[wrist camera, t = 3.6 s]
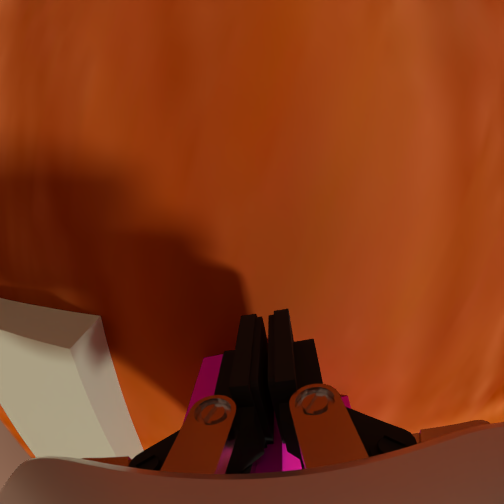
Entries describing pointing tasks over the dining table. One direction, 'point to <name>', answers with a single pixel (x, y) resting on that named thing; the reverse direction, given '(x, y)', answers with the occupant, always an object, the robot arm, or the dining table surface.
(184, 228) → the dining table surface
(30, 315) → the base slab
